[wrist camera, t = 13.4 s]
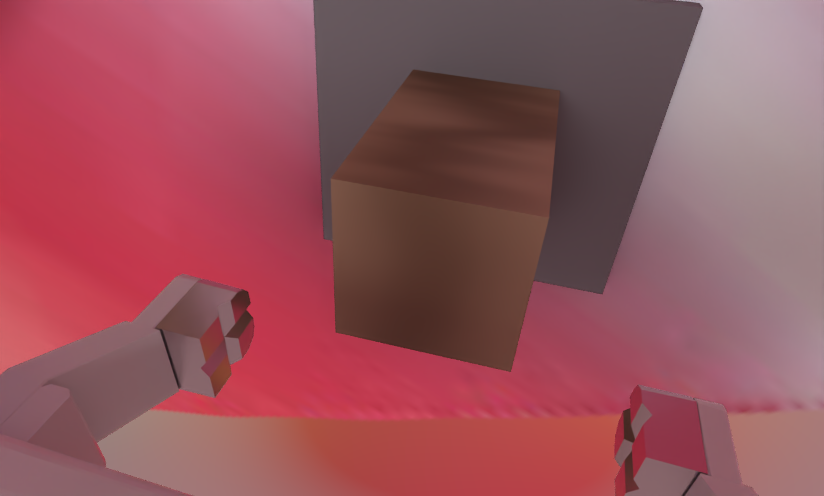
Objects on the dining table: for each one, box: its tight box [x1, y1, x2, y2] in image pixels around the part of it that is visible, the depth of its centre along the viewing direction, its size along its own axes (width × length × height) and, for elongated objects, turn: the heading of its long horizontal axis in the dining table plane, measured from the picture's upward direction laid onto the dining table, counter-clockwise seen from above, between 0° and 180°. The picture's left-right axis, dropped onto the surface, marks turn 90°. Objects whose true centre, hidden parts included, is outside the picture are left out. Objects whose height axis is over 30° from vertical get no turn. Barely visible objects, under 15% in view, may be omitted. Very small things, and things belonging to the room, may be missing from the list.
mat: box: [313, 0, 703, 294], centre depth 20 cm, size 12×11×1 cm
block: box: [331, 69, 560, 372], centre depth 17 cm, size 5×5×8 cm
